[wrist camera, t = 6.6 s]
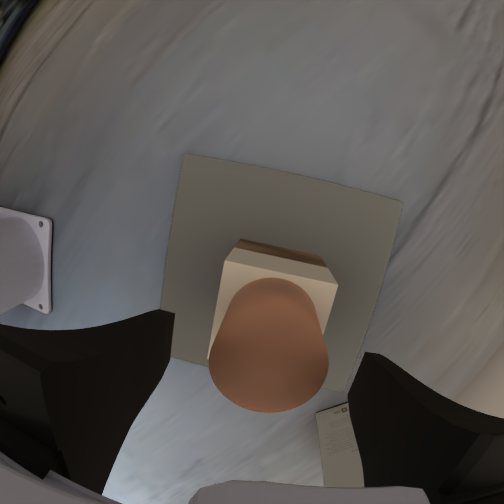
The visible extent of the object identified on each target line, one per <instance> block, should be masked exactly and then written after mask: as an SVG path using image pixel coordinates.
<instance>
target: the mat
mask: <svg viewBox="0 0 504 504" xmlns="http://www.w3.org/2000/svg"><path fill="white" fill-rule="evenodd" d="M402 206H403V202H401V201H397V200H394V199H391V198H387V197H384V196H380V195H377V194H373V193H369V192H366V191H362V190H358V189H354V188H351V187H347V186H343V185H339V184H335V183H331V182H327V181H323V180H319V179H314V178H310V177H306V176H301V175H297V174H292V173H288V172H283V171H279V170H274V169H269V168H264V167H259V166H254V165H249V164H244V163H238V162H233V161H227V160H221V159H216V158H210V157H204V156H197V155H191V154H184V157H183V162H182V167H181V172H180V178H179V183H178V188H177V194H176V200H175V205H174V211H173V217H172V224H171V230H170V237H169V243H168V250H167V257H166V265H165V272H164V280H163V289H162V298H161V307H160V309H161V310H165V311H169V312H173V313H175V320H174V329H173V338H172V347H171V357H173V358H176V359H180V360H184V361H187V362H191V363H195V364H199V365H203V366H207V367H209V359H207V356H208V350H209V344H210V338H211V333H212V327H213V321H214V316H215V310H216V304H217V299H218V293H219V288H220V282H221V277H222V271H223V266H224V261H225V259H226V258H227V256H228V255H229V254H230V252H231V251H232V250H233V248H234V247H235V246H236V244H237V243H238V242H239V240H240V239H245V240H250V241H254V242H259V243H264V244H268V245H273V246H278V247H282V248H287V249H291V250H296V251H300V252H305V253H310V254H314V255H319V256H321V257H322V259H323V261H324V262H325V264H326V266H327V267H328V269H329V270H330V272H331V273H332V275H333V277H334V278H335V280H336V282H337V283H338V288H337V291H336V295H335V298H334V301H333V305H332V308H331V312H330V315H329V318H328V321H327V325H326V328H325V331H324V334H323V338H324V342H325V345H326V349H327V353H328V358H329V368H328V373H327V376H326V379H325V381H324V383H323V385H322V387H321V388H320V389H325V390H333V391H341V392H343V391H344V388H345V386H346V384H347V381H348V379H349V376H350V374H351V372H352V369H353V367H354V364H355V362H356V359H357V356H358V354H359V351H360V348H361V346H362V343H363V340H364V338H365V335H366V332H367V329H368V326H369V323H370V321H371V318H372V315H373V312H374V309H375V306H376V303H377V299H378V296H379V293H380V290H381V287H382V283H383V280H384V277H385V273H386V270H387V266H388V263H389V259H390V255H391V252H392V248H393V244H394V240H395V236H396V232H397V228H398V224H399V219H400V215H401V211H402Z"/></svg>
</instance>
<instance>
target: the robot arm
mask: <svg viewBox="0 0 504 504" xmlns="http://www.w3.org/2000/svg"><path fill="white" fill-rule="evenodd" d="M42 222H43V226H42ZM51 239H52V221H51V220H50V219H49V218H45V217H41V216H36V215H32V214H28V213H24V212H20V211H16V210H12V209H8V208H4V207H0V315H1V314H2V313H4V312H6V311H8V310H10V309H12V308H14V307H16V306H18V305H20V304H22V303H23V304H25V305H27V306H29V307H31V308H34V309H36V310H38V311H40V312H43V313H45V314H48V313H50V312H51ZM42 306H43V307H42ZM174 320H175V313H173V312H169V311H165V310H161V309H158V310H154V311H150V312H147V313H144V314H141V315H138V316H135V317H131V318H128V319H125V320H121V321H118V322H114V323H110V324H106V325H102V326H97V327H91V328H84V329H75V330H35V329H25V328H18V327H13V326H7V325H2V324H0V504H122V503H119V502H116V501H114V500H112V499H109V498H107V497H104V496H102V493H103V490H104V487H105V485H106V482H107V480H108V477H109V474H110V472H111V469H112V467H113V464H114V462H115V460H116V458H117V455H118V453H119V451H120V448H121V446H122V444H123V442H124V440H125V438H126V436H127V433H128V431H129V429H130V427H131V425H132V424H133V422H134V420H135V418H136V417H137V415H138V414H139V412H140V411H141V409H142V408H143V406H144V405H145V403H146V402H147V400H148V399H149V397H150V396H151V394H152V393H153V391H154V390H155V388H156V386H157V385H158V383H159V382H160V380H161V379H162V376H163V374H164V372H165V370H166V368H167V366H168V363H169V361H170V357H171V347H172V338H173V329H174ZM348 405H349V414H350V419H351V423H352V427H353V431H354V435H355V438H356V442H357V446H358V450H359V454H360V458H361V463H362V468H363V478H364V487H360V488H347V487H318V486H303V485H292V484H283V483H274V482H267V481H238V480H231V481H227V482H223V483H219V484H215V485H211V486H207V487H203V488H200V489H199V490H198V491H197V493H196V494H195V495H194V496H193V497H192V498H191V499H190V500H189V504H504V419H503V418H498V417H495V416H491V415H487V414H484V413H481V412H477V411H475V410H472V409H470V408H467V407H464V406H462V405H460V404H458V403H456V402H454V401H452V400H450V399H448V398H446V397H444V396H442V395H440V394H439V393H437V392H435V391H434V390H432V389H430V388H429V387H427V386H426V385H424V384H423V383H421V382H420V381H418V380H417V379H415V378H414V377H413V376H411V375H410V374H409V373H407V372H406V371H404V370H403V369H402V368H400V367H399V366H398V365H396V364H395V363H393V362H392V361H391V360H389V359H388V358H386V357H384V356H383V355H381V354H376V353H369V352H365V354H364V356H363V359H362V361H361V364H360V366H359V369H358V371H357V374H356V376H355V379H354V381H353V383H352V386H351V388H350V390H349V393H348Z"/></svg>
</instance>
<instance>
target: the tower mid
mask: <svg viewBox="0 0 504 504" xmlns="http://www.w3.org/2000/svg"><path fill="white" fill-rule="evenodd" d="M271 277H272V278H281V279H285V280H288V281H291V282H293V283H295V284H296V285H298V286H300V287H301V288H302V289H303V290H304V291H305V292H306V293H307V294H308V295H309V297H310V298H311V300H312V302H313V304H314V307H315V310H316V314H317V317H318V321H319V324H320V328H321V331H322V335H323V334H324V331H325V328H326V325H327V321H328V318H329V315H330V312H331V308H332V305H333V301H334V298H335V295H336V291H337V288H338V283H337V282H336V280H335V278H334V277H333V275H332V273H331V272H330V270H329V269H328V268H326V267H322V266H317V265H313V264H308V263H303V262H299V261H294V260H290V259H285V258H280V257H276V256H271V255H267V254H262V253H257V252H253V251H248V250H244V249H239V248H233V250H232V251H231V252H230V254H229V255H228V256H227V258H226V259H225V261H224V266H223V271H222V277H221V282H220V288H219V293H218V299H217V304H216V310H215V316H214V321H213V327H212V333H211V338H210V344H209V350H208V356H207V359H209V354H210V350H211V347H212V344H213V342H214V340H215V337H216V335H217V333H218V330H219V328H220V325H221V323H222V321H223V318H224V316H225V314H226V311H227V309H228V306H229V304H230V302H231V300H232V298H233V297H234V295H235V294H236V293H237V292H238V291H239V290H240V289H241V288H242V287H243V286H245V285H246V284H248V283H250V282H252V281H255V280H258V279H262V278H271Z"/></svg>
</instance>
